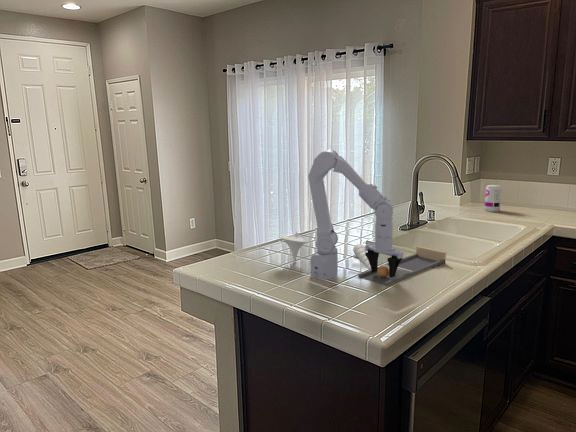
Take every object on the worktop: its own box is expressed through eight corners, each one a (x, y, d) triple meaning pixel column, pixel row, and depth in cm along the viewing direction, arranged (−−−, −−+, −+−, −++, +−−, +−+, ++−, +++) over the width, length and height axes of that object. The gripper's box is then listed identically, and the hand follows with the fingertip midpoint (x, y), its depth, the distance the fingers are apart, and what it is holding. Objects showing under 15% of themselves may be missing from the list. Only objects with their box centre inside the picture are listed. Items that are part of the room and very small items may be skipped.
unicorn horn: (362, 274, 158) (362, 261, 157) (353, 255, 181) (352, 243, 180) (375, 273, 158) (375, 260, 157) (364, 254, 181) (364, 243, 180)
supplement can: (485, 211, 256) (487, 186, 253) (483, 209, 264) (485, 184, 261) (500, 212, 254) (502, 186, 251) (498, 209, 262) (500, 184, 259)
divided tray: (386, 297, 144) (386, 274, 143) (358, 288, 153) (358, 266, 152) (444, 272, 167) (445, 252, 165) (417, 265, 176) (418, 246, 174)
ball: (384, 279, 149) (384, 268, 148) (374, 277, 152) (374, 265, 151) (391, 277, 151) (391, 265, 151) (381, 274, 154) (382, 263, 154)
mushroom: (295, 256, 180) (294, 227, 178) (313, 261, 172) (313, 232, 170) (275, 261, 174) (274, 232, 171) (294, 267, 166) (293, 237, 163)
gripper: (409, 237, 146) (408, 276, 149) (374, 230, 157) (373, 266, 159) (396, 241, 141) (395, 281, 144) (361, 234, 152) (361, 271, 155)
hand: (383, 274), depth 151 cm, fingers open, 7 cm apart
